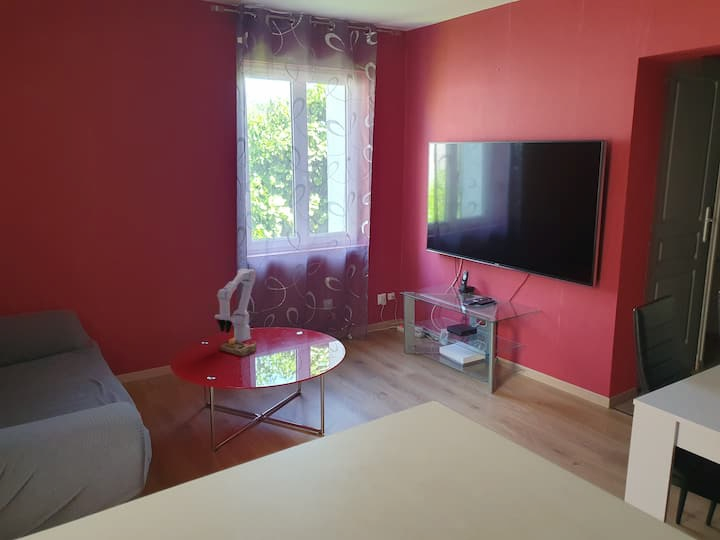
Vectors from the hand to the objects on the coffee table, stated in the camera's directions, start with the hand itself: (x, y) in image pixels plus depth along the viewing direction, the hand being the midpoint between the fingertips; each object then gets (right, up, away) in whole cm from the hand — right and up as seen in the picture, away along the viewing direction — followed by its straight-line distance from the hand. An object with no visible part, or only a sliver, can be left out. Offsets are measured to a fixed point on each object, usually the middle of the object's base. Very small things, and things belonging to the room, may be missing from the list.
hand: (225, 331), depth 330 cm
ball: (+4, -6, -2) cm, 7 cm away
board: (+8, -10, -3) cm, 14 cm away
